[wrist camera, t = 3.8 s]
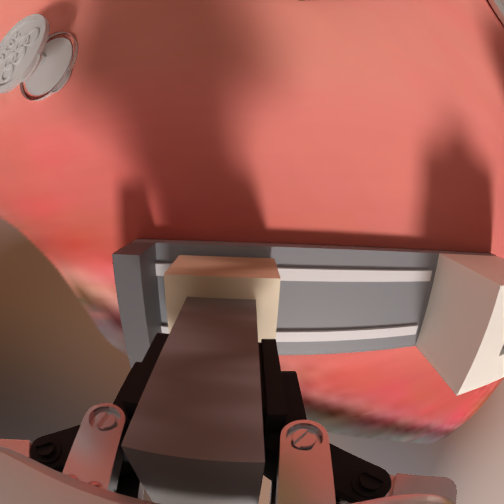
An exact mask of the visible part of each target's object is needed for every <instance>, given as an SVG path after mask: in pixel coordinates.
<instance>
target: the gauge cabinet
mask: <svg viewBox="0 0 504 504" xmlns="http://www.w3.org/2000/svg"><path fill="white" fill-rule="evenodd" d="M415 346H416V347H417V348H418V350H419V351H420V352H421V353H422V354H423V355H424V357H425V358H426V359H427V360H428V361H429V362H430V364H431V365H432V366H433V367H434V368H435V370H436V371H437V372H438V373H439V375H440V376H441V377H442V378H443V379H444V381H445V382H446V383H447V384H448V386H449V387H450V388H451V389H452V391H453V392H454V393H455V394H456V396H457V395H460V394H463V393H466V392H469V391H471V390H474V389H477V388H479V387H482V386H484V385H487V384H489V383H492V382H494V381H496V380H499V379H501V378H503V377H504V259H503V258H500V257H498V256H485V255H464V254H443V253H439V258H438V263H437V268H436V273H435V277H434V282H433V286H432V290H431V294H430V298H429V302H428V306H427V309H426V313H425V316H424V320H423V323H422V326H421V330H420V333H419V336H418V339H417V342H416V345H415Z"/></svg>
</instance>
